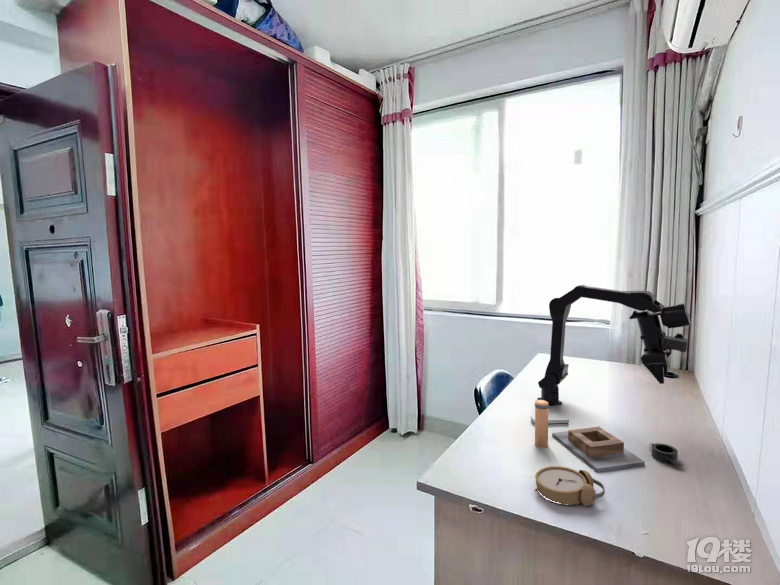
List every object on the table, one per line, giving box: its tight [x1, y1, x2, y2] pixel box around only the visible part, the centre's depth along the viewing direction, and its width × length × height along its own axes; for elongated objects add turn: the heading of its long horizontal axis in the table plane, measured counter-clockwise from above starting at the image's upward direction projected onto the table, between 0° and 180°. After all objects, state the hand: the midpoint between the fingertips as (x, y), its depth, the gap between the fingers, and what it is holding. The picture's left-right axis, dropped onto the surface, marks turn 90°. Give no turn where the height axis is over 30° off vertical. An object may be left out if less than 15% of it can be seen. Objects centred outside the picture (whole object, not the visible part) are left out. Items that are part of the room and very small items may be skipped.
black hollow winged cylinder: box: [647, 442, 684, 466], centre depth 106 cm, size 8×10×3 cm
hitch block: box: [551, 426, 646, 473], centre depth 112 cm, size 20×14×4 cm
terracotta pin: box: [534, 399, 550, 449], centre depth 115 cm, size 4×4×13 cm
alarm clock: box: [534, 465, 606, 507], centre depth 93 cm, size 11×5×15 cm
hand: (663, 379), depth 122 cm, fingers open, 9 cm apart
